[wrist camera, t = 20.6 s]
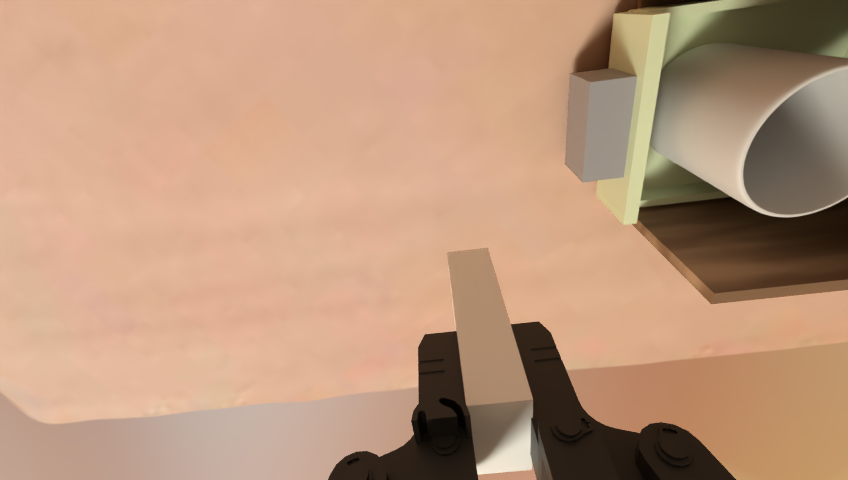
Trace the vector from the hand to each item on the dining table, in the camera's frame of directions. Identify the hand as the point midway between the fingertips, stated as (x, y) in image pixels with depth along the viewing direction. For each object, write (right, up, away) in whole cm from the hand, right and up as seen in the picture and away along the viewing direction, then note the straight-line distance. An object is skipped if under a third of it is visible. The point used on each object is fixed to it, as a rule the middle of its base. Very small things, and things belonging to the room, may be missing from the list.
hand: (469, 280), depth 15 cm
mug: (+21, +12, +15) cm, 29 cm away
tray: (+19, +12, +16) cm, 28 cm away
